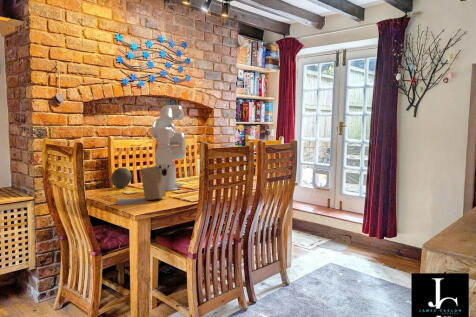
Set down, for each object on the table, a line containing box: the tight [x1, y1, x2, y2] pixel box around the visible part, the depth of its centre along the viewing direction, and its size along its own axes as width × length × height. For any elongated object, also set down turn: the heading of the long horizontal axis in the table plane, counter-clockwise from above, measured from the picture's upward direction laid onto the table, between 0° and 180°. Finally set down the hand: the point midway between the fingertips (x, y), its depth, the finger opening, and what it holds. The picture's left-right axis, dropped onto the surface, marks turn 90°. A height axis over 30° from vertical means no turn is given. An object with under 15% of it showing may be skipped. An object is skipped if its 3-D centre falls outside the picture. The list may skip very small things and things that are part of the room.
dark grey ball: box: [110, 167, 133, 189], centre depth 265 cm, size 14×14×15 cm
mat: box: [115, 197, 148, 206], centre depth 221 cm, size 17×14×1 cm
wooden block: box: [139, 166, 167, 201], centre depth 226 cm, size 10×10×20 cm
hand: (164, 175), depth 227 cm, fingers closed
